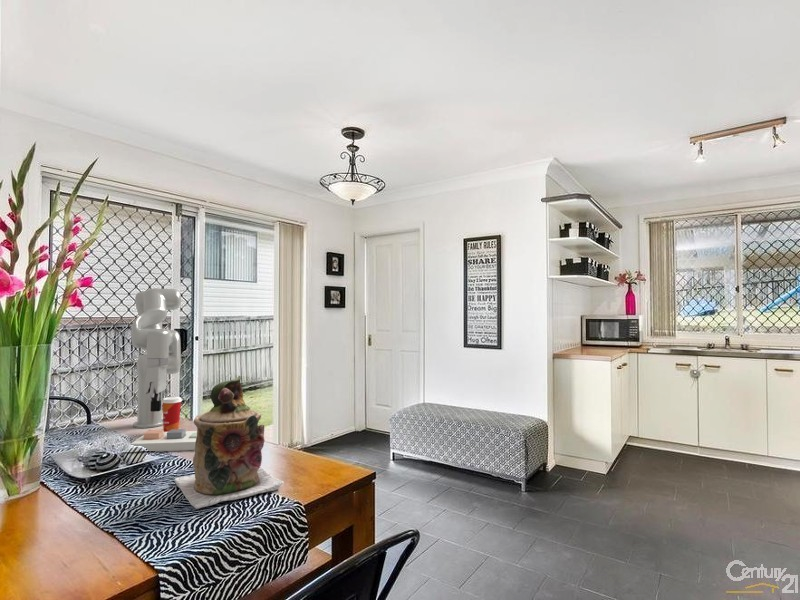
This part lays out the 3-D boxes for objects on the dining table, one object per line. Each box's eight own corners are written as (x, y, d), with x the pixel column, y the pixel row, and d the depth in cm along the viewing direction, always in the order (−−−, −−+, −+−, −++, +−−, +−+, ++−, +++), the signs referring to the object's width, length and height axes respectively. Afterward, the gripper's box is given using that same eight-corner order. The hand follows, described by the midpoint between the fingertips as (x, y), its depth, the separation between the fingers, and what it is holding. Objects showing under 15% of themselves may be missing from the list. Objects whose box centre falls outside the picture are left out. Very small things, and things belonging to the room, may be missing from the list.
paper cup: (161, 430, 191) (162, 397, 192) (181, 428, 194) (182, 396, 195) (160, 434, 184) (161, 400, 184) (180, 433, 187) (181, 399, 188)
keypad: (147, 439, 177) (147, 432, 177) (216, 437, 181) (217, 430, 181) (130, 452, 161) (130, 443, 161) (206, 449, 165) (207, 441, 165)
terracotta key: (148, 436, 172) (149, 429, 172) (163, 435, 173) (163, 429, 173) (143, 440, 167) (143, 433, 167) (158, 439, 167) (158, 433, 168)
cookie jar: (171, 483, 132) (174, 375, 133) (252, 466, 148) (255, 369, 149) (196, 513, 114) (199, 386, 115) (286, 489, 129) (288, 378, 130)
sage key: (193, 438, 174) (193, 432, 174) (207, 438, 175) (207, 432, 175) (189, 442, 169) (189, 436, 169) (203, 442, 170) (204, 435, 170)
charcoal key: (171, 435, 173) (171, 429, 173) (185, 435, 174) (185, 428, 174) (166, 439, 168) (166, 432, 168) (181, 438, 169) (181, 432, 169)
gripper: (153, 360, 177) (152, 407, 177) (138, 364, 163) (137, 415, 162) (174, 360, 179) (172, 406, 178) (161, 364, 164) (159, 415, 163)
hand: (155, 410), depth 170 cm, fingers closed
